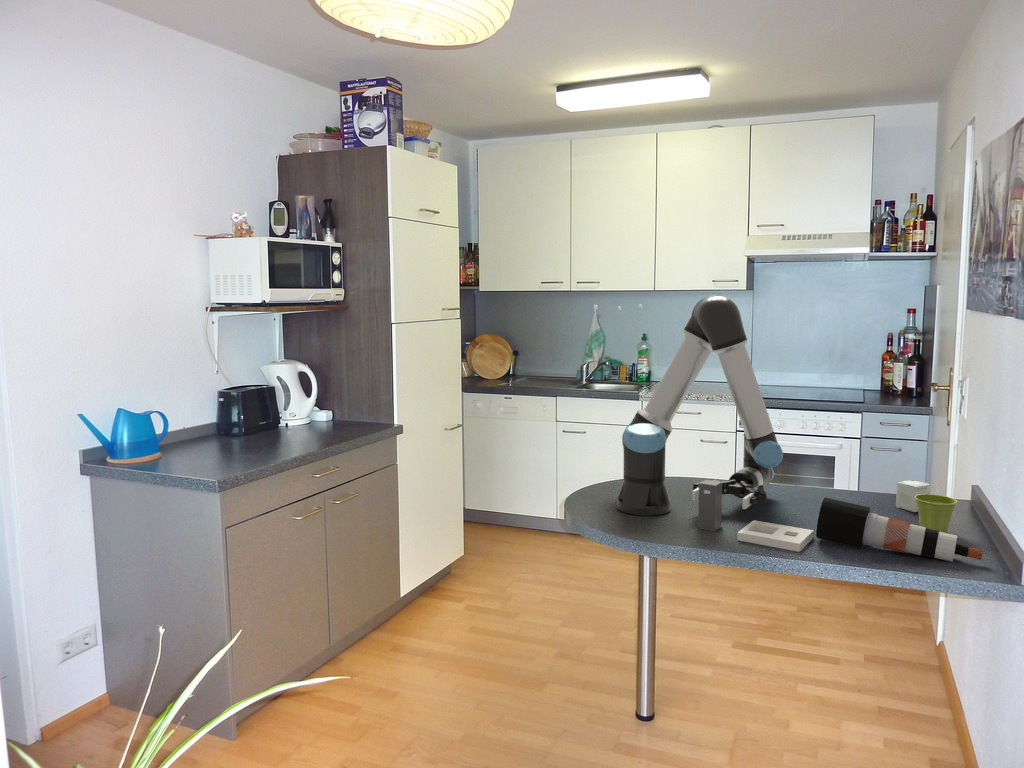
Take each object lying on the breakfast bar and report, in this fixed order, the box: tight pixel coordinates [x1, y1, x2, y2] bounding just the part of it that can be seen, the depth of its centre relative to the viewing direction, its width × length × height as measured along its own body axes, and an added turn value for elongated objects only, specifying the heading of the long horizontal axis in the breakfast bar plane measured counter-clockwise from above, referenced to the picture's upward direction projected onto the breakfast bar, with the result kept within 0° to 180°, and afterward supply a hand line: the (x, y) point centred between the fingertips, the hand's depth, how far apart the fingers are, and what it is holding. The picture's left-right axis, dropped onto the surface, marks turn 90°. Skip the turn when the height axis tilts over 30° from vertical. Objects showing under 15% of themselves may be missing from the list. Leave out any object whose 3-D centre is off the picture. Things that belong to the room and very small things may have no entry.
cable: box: [815, 497, 984, 563], centre depth 178 cm, size 10×34×10 cm, turn 56°
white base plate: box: [736, 519, 815, 553], centre depth 189 cm, size 15×12×2 cm
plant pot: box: [915, 493, 958, 534], centre depth 193 cm, size 9×9×9 cm
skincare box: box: [895, 479, 931, 513], centre depth 213 cm, size 6×6×7 cm
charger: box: [697, 479, 723, 532], centre depth 198 cm, size 4×5×12 cm
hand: (718, 500), depth 200 cm, fingers open, 13 cm apart
